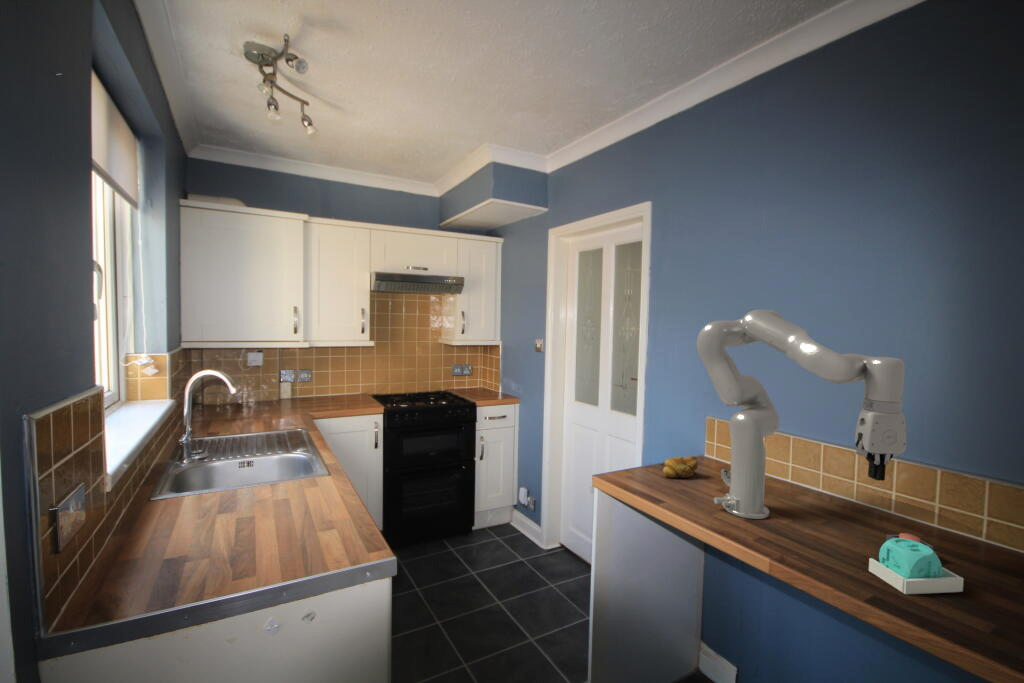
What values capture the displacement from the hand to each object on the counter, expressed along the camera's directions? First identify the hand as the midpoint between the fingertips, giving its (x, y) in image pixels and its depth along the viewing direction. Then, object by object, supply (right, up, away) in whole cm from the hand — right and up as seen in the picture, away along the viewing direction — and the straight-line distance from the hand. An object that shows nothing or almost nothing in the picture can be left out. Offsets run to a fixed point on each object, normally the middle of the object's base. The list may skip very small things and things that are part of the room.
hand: (876, 478), depth 117 cm
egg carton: (-12, -17, +50) cm, 55 cm away
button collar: (+9, -20, +1) cm, 21 cm away
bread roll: (-30, -16, +57) cm, 66 cm away
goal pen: (0, -20, -11) cm, 23 cm away
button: (+9, -18, +1) cm, 20 cm away
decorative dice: (-1, -21, -10) cm, 23 cm away
